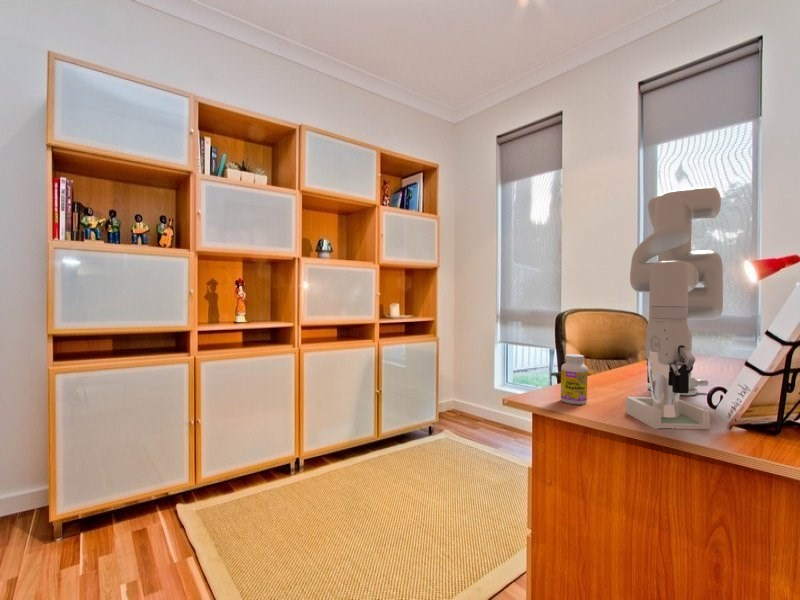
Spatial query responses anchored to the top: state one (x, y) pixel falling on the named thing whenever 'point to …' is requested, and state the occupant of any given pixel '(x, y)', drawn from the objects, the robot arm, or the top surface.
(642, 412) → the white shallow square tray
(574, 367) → the supplement bottle
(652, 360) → the beer glass
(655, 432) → the top surface
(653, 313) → the robot arm
